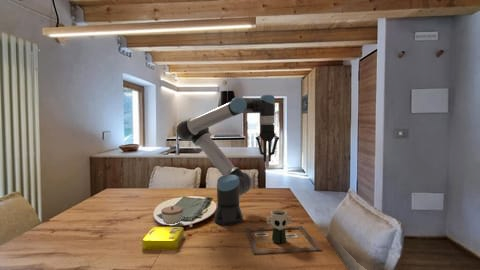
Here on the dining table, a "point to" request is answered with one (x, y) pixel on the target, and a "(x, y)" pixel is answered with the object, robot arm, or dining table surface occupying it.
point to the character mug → (279, 225)
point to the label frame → (314, 244)
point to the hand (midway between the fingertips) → (267, 167)
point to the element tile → (163, 238)
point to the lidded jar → (172, 214)
